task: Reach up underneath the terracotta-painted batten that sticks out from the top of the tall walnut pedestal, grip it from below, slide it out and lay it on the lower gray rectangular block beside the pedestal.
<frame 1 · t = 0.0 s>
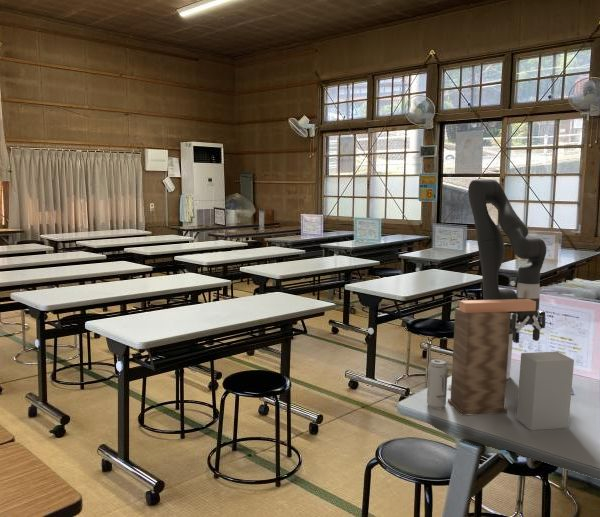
hand: (525, 341, 194), 17 cm above the table, tool pointing down, fingers open, 8 cm apart
hard drive: (558, 388, 198), on the table
energy drink can: (436, 406, 180), on the table
gray rectangular block: (541, 423, 168), on the table
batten: (497, 310, 176), point 32 cm above the table, touching pedestal
pedestal: (476, 407, 179), on the table
marker: (472, 395, 191), on the table
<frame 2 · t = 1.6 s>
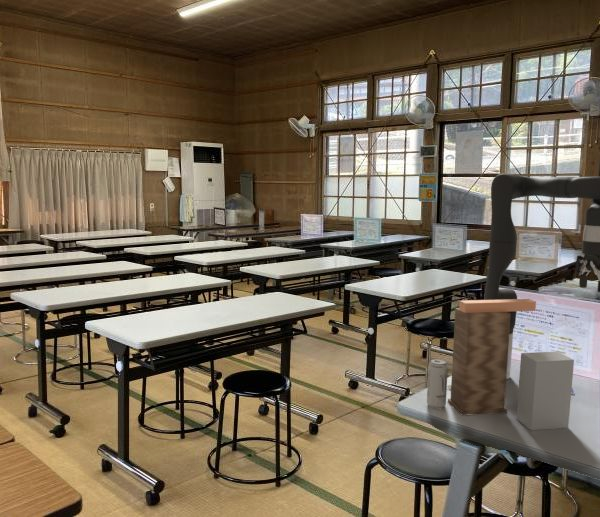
hand: (591, 289, 179), 38 cm above the table, tool pointing down, fingers open, 8 cm apart
nothing on the table moved.
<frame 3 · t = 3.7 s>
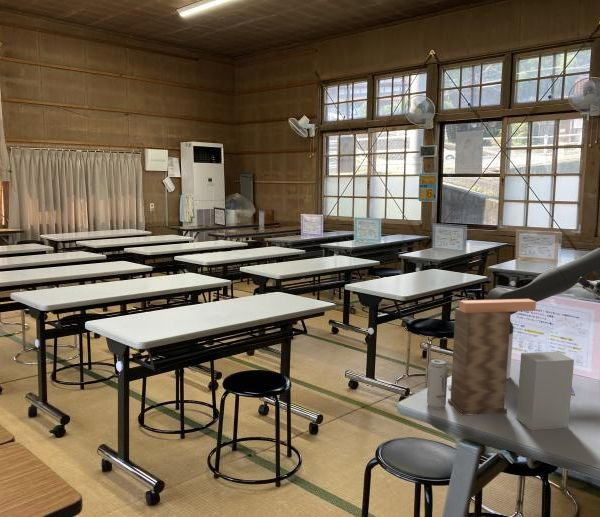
hand: (587, 281, 178), 41 cm above the table, tool pointing upward, fingers open, 8 cm apart
nothing on the table moved.
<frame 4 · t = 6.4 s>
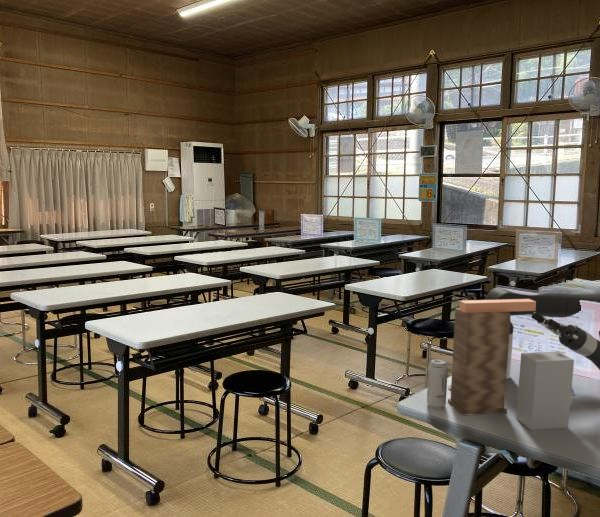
hand: (540, 317, 178), 29 cm above the table, tool pointing upward, fingers open, 8 cm apart
nothing on the table moved.
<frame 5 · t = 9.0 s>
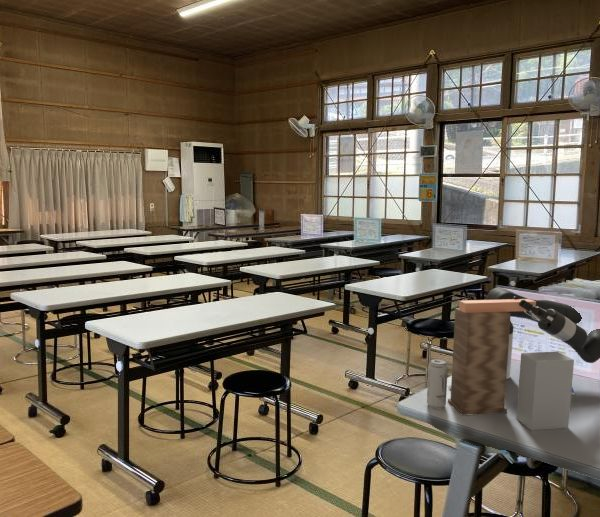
hand: (517, 300, 176), 35 cm above the table, tool pointing upward, fingers closed on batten, 4 cm apart
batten: (497, 310, 176), point 32 cm above the table, touching gripper, pedestal
everything else where it was.
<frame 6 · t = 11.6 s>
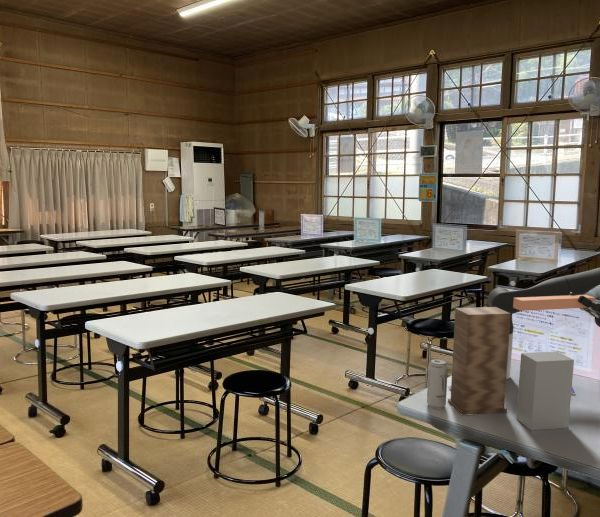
hand: (574, 296, 165), 39 cm above the table, tool pointing upward, fingers closed on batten, 4 cm apart
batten: (553, 307, 164), point 36 cm above the table, touching gripper
everything else where it was.
when the fingers open (25 cm above the table, at t = 14.7 s): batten drops 1 cm, resting on gray rectangular block.
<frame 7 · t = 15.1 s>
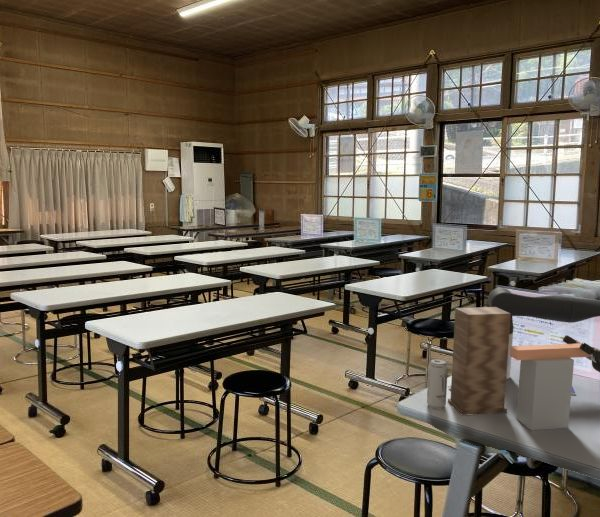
hand: (572, 341, 166), 25 cm above the table, tool pointing upward, fingers open, 7 cm apart
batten: (550, 356, 165), point 21 cm above the table, touching gray rectangular block
everything else where it was.
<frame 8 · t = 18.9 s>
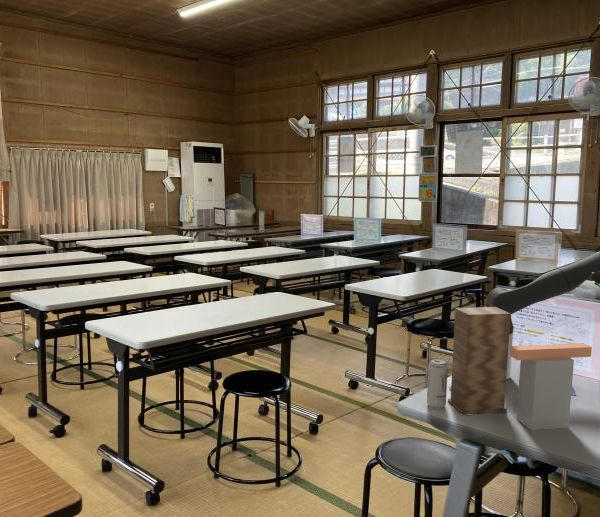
nothing on the table moved.
at the end: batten inside the target area on the gray rectangular block (0.9 cm from its centre), point 21.0 cm above the gray rectangular block's base; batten touching gray rectangular block; the gripper is holding nothing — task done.
